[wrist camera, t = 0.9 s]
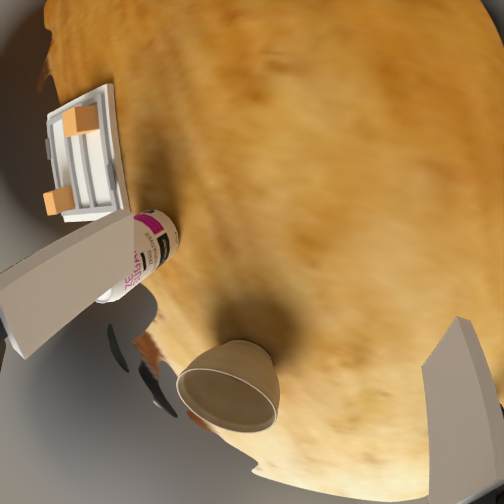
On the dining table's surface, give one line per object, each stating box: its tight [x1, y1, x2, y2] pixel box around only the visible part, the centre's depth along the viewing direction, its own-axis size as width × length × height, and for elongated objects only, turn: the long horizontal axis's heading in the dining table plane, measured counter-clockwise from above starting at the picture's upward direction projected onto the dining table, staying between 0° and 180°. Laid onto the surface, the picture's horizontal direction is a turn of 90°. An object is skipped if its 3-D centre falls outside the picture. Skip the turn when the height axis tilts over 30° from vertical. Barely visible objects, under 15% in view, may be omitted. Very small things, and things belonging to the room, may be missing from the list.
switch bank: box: [45, 84, 131, 222], centre depth 42 cm, size 22×18×2 cm
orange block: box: [62, 105, 100, 137], centre depth 35 cm, size 4×3×5 cm
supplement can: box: [95, 209, 179, 303], centre depth 37 cm, size 8×8×15 cm
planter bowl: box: [176, 340, 280, 433], centre depth 44 cm, size 16×16×11 cm
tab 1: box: [43, 185, 75, 215], centre depth 43 cm, size 4×3×5 cm
